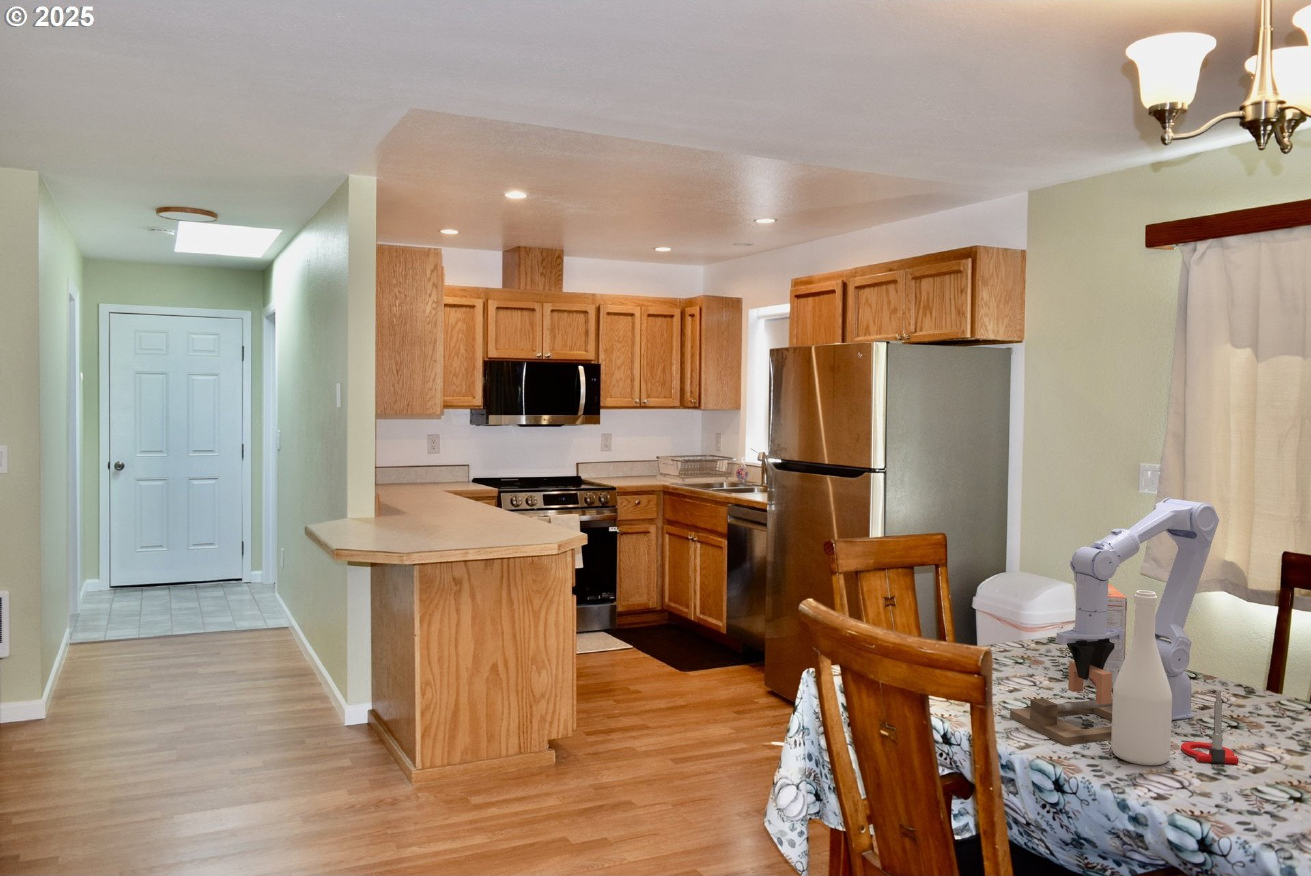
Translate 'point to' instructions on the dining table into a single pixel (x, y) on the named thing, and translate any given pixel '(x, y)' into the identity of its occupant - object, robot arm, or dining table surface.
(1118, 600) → the cracker box
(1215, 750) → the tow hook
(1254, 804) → the dining table surface
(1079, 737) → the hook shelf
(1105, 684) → the wooden arch block
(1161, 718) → the wine bottle
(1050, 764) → the dining table surface
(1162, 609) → the robot arm
